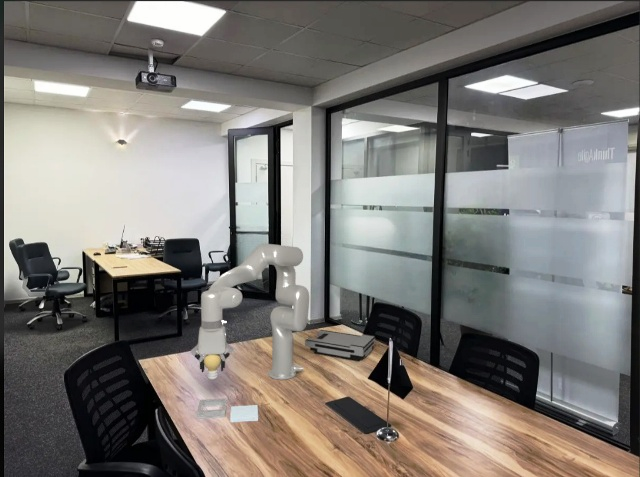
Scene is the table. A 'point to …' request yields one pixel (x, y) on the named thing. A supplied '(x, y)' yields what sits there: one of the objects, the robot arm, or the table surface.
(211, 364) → the light bulb
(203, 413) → the frame
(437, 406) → the table surface
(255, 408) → the pad
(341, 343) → the game console
